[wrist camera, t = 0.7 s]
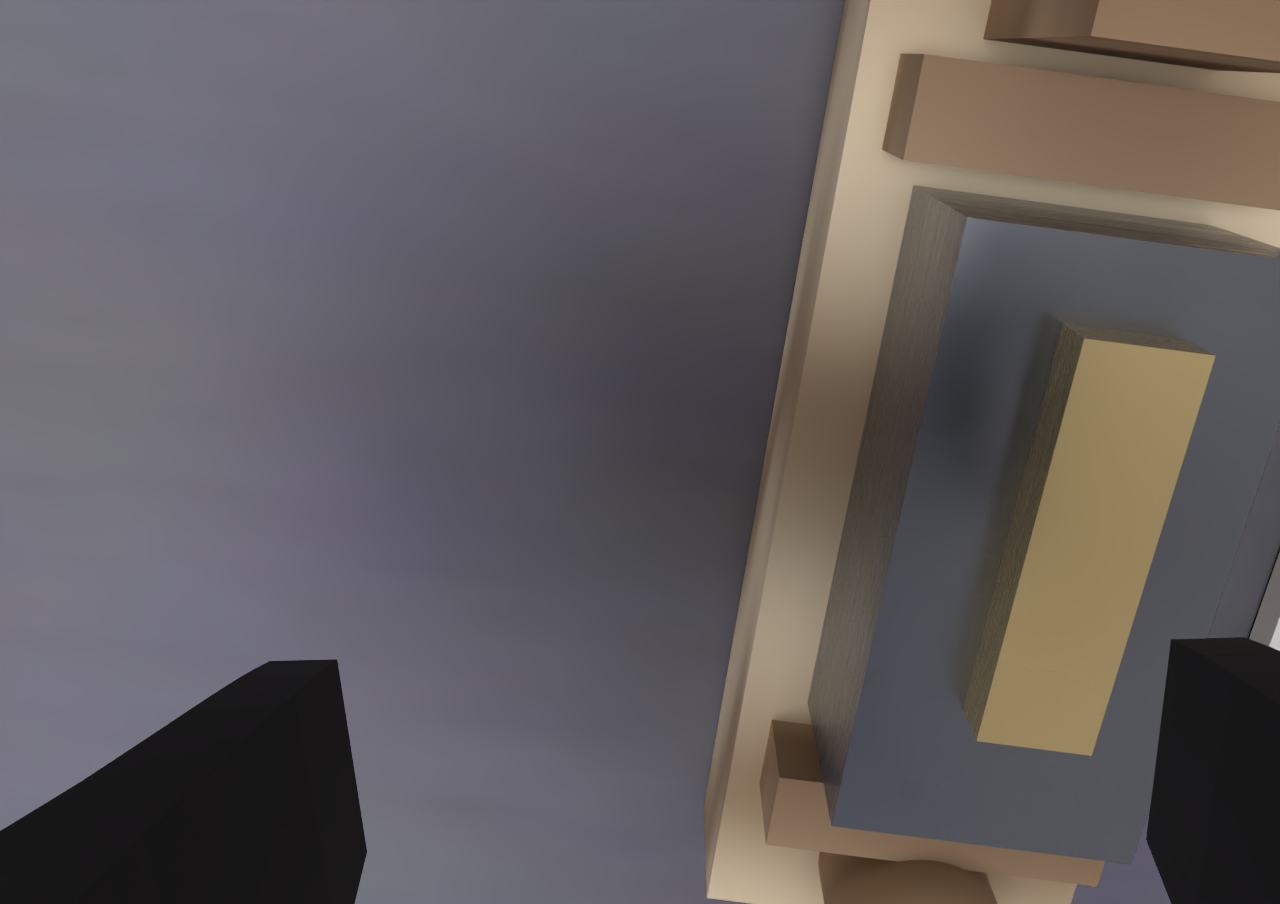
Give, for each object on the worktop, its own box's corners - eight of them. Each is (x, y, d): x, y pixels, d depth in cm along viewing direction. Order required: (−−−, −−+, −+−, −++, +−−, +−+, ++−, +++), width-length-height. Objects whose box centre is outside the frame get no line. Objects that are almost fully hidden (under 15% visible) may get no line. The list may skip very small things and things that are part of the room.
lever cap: (1059, 734, 18) (1152, 902, 14) (807, 702, 18) (838, 862, 14) (1210, 225, 15) (1370, 277, 12) (913, 185, 15) (983, 227, 11)
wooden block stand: (1016, 848, 21) (1149, 1167, 15) (703, 808, 21) (712, 1112, 15) (1285, -74, 16) (1657, -148, 10) (867, -131, 16) (983, -241, 10)
